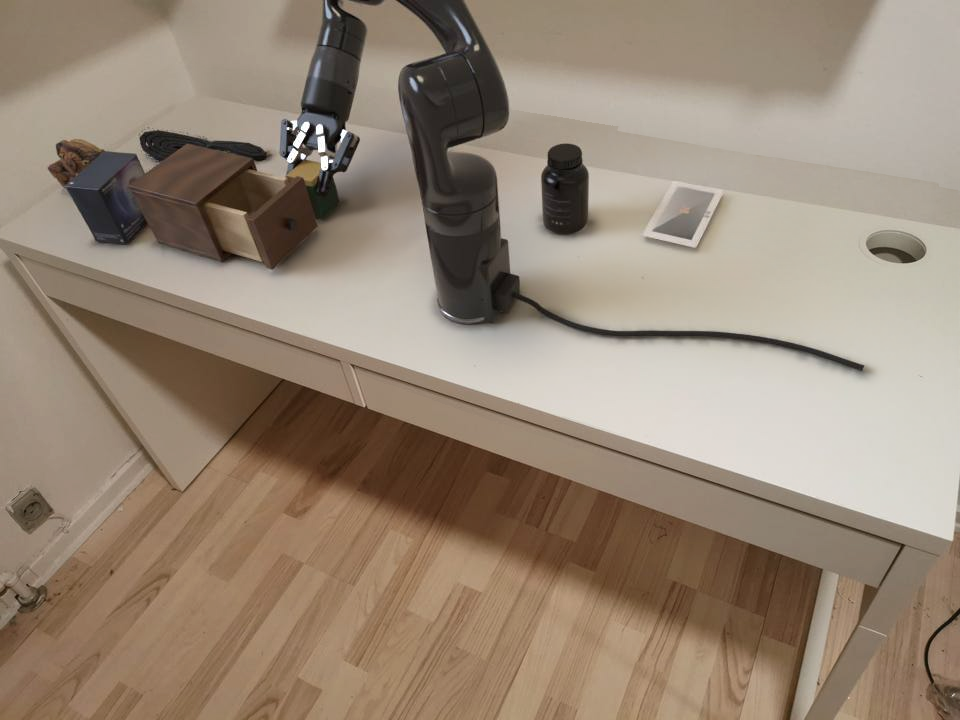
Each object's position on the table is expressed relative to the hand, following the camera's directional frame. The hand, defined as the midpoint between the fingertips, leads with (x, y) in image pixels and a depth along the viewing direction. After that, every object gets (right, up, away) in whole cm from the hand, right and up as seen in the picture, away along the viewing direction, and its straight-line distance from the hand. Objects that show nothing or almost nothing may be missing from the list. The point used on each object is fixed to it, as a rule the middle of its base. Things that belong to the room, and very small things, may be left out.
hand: (305, 191), depth 110 cm
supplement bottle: (+40, -6, -4) cm, 41 cm away
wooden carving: (-39, +2, +12) cm, 41 cm away
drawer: (-5, -8, -2) cm, 10 cm away
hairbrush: (-23, +12, +20) cm, 33 cm away
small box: (-30, -4, +5) cm, 31 cm away
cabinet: (-15, -6, +2) cm, 16 cm away
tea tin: (+1, -2, +4) cm, 5 cm away
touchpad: (+58, -6, -6) cm, 58 cm away
